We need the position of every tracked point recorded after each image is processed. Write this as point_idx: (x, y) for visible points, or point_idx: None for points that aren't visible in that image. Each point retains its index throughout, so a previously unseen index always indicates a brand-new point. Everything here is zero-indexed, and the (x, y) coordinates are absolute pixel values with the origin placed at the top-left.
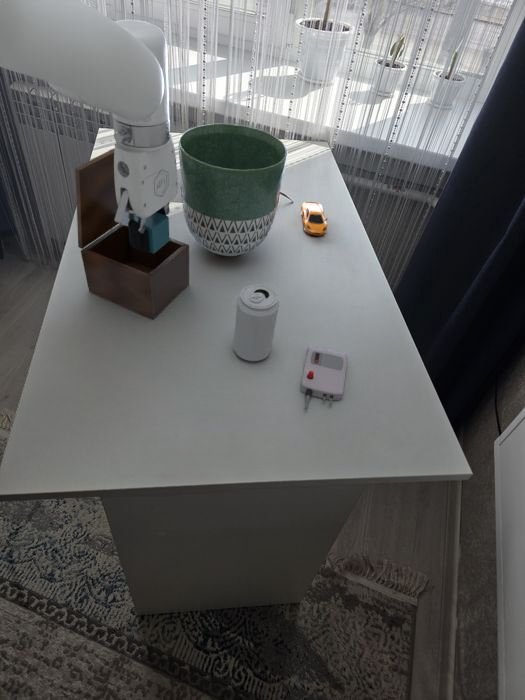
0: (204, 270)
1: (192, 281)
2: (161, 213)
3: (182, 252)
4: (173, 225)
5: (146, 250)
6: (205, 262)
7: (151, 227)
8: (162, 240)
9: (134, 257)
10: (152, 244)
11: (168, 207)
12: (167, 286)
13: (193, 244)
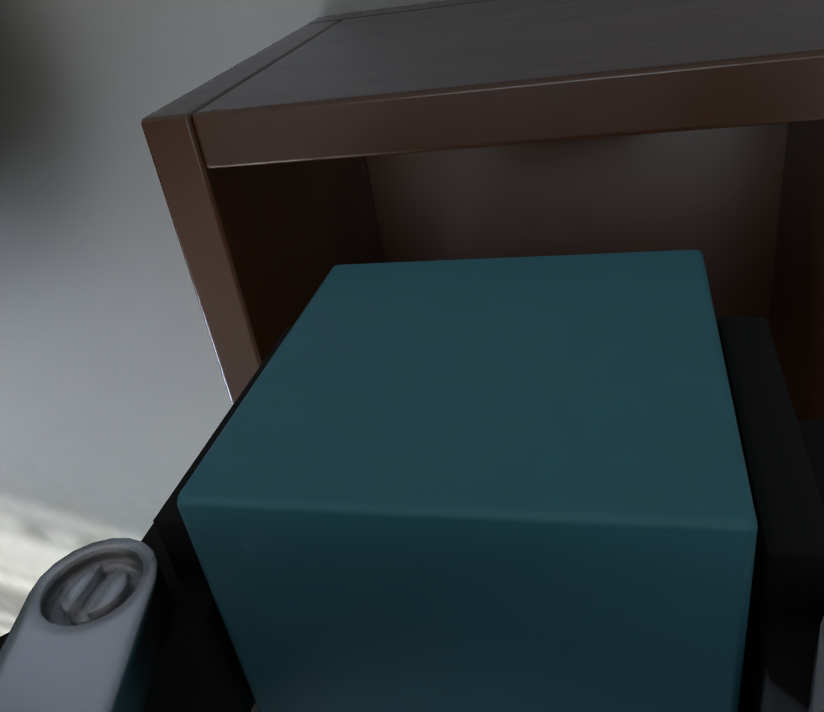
0: (126, 39)
1: (274, 24)
2: (207, 617)
3: (275, 101)
4: (19, 442)
5: (765, 342)
6: (66, 93)
7: (706, 561)
8: (474, 300)
9: None
10: (715, 333)
11: (29, 628)
12: (609, 11)
13: (22, 268)
